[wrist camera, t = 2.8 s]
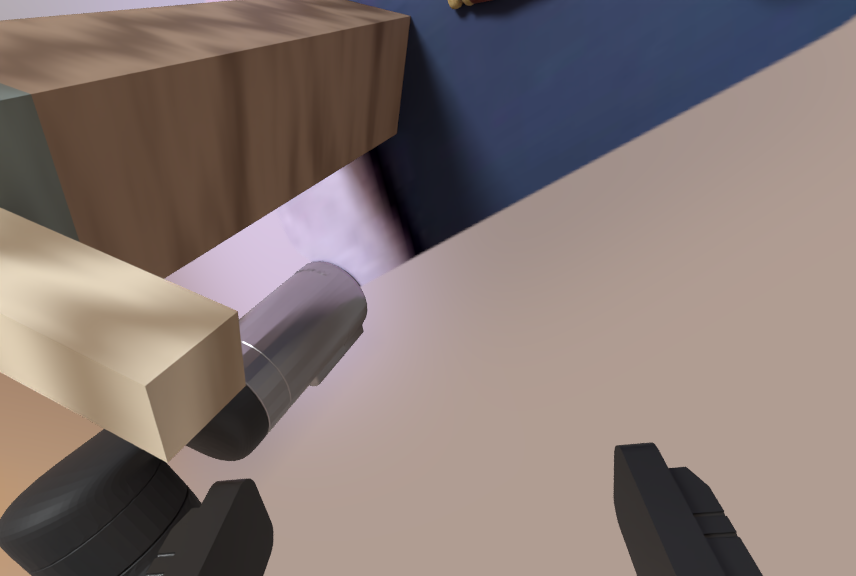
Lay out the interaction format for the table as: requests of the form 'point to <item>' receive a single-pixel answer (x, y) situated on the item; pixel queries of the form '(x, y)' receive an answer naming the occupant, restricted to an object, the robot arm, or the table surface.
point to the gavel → (455, 3)
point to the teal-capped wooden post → (189, 117)
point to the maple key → (113, 339)
